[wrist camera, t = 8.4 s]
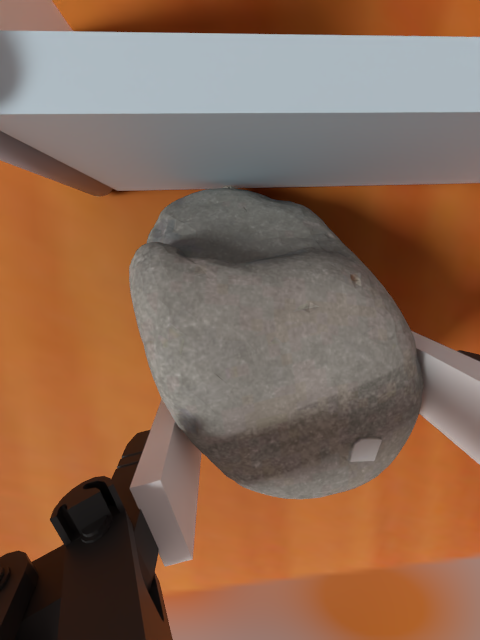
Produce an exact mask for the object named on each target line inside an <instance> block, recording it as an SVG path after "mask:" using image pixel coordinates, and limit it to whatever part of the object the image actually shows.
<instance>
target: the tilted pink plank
mask: <svg viewBox="0 0 480 640" xmlns="http://www.w3.org/2000/svg"><path fill="white" fill-rule="evenodd" d="M0 30H6V31H72V29H71V28H70V26H69V25H68V23H67V22H66V20H65V19H64V18H63V16H62V15H61V13H60V12H59V10H58V9H57V7H56V6H55V4H54V3H53V2H52V0H0Z"/></svg>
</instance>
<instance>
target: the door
mask: <svg viewBox="0 0 480 640" xmlns="http://www.w3.org/2000/svg"><path fill="white" fill-rule="evenodd" d="M0 160H1V161H4V162H6V163H9V164H12V165H14V166H17V167H20V168H22V169H25V170H28V171H30V172H33V173H36V174H38V175H41V176H44V177H46V178H49V179H52V180H54V181H57V182H59V183H62V184H65V185H67V186H70V187H73V188H75V189H78V190H81V191H83V192H86V193H89V194H91V195H94V196H104V195H107V194H108V193H110V192H111V191H112V189H115V190H117V191H134V190H180V189H214V188H222V187H224V186H232V187H235V188H272V187H317V186H363V185H409V184H455V183H480V37H438V36H366V35H294V34H222V33H150V32H78V31H6V30H0Z"/></svg>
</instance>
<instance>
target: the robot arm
mask: <svg viewBox="0 0 480 640" xmlns="http://www.w3.org/2000/svg"><path fill="white" fill-rule="evenodd" d="M411 332H412V334H413V336H414V339H415V344H416V350H417V356H418V360H419V363H420V367H421V373H422V378H423V383H424V387H423V391H422V403H421V408H420V412H419V414H421V415H422V416H423V417H424V418H425V419H427V420H428V421H429V422H430V423H431V424H432V425H434V426H435V427H436V428H437V429H438V430H440V431H441V432H442V433H443V434H444V435H445V436H447V437H448V438H449V439H450V440H451V441H453V442H454V443H455V444H456V445H457V446H458V447H460V448H461V449H462V450H463V451H464V452H466V453H467V454H468V455H469V456H470V457H471V458H473V459H474V460H475V461H476V462H477V463H479V464H480V355H479V354H474V353H470V352H465V351H461V350H459V351H455V350H453V349H451V348H448V347H446V346H444V345H442V344H440V343H437V342H435V341H433V340H431V339H429V338H426V337H424V336H422V335H420V334H418V333H415V332H413V331H411ZM200 462H201V451H200V450H199V449H198V448H197V447H196V446H195V445H194V444H193V443H192V442H191V441H190V440H189V439H188V437H187V436H186V435H185V434H184V432H183V431H182V430H181V429H180V428H179V426H178V425H177V424H176V422H175V421H174V419H173V417H172V415H171V414H170V412H169V410H168V408H167V407H166V405H165V403H164V402H163V400H161V403H160V406H159V408H158V411H157V414H156V417H155V419H154V422H153V425H152V428H151V430H148V431H144V432H140V433H137V434H136V435H135V436H134V437H133V439H132V440H131V441H130V442H129V443H128V444H127V446H126V448H125V450H124V453H123V455H122V459H120V461H119V464H118V466H117V469H116V470H115V473H114V475H113V477H112V479H110V478H108V477H105V476H101V477H94V478H92V479H89V480H87V481H85V482H83V483H81V484H80V485H78V486H76V487H75V488H73V489H72V490H71V491H70V492H69V493H68V494H66V495H65V496H64V497H63V498H62V499H61V500H60V502H59V503H58V504H57V506H56V507H55V508H54V510H53V513H52V515H51V518H50V521H51V522H52V524H53V526H54V527H55V529H56V531H57V533H58V534H59V536H60V538H61V540H62V541H63V543H64V545H62V546H61V547H59V548H57V549H55V550H53V551H51V552H49V553H48V554H46V555H44V556H42V557H40V558H38V559H36V560H35V561H33V562H31V561H30V559H29V558H28V556H27V554H26V553H24V552H21V551H15V552H11V553H7V554H6V555H4V556H2V557H0V640H173V639H172V635H171V631H170V626H169V622H168V618H167V613H166V609H165V605H164V600H163V596H162V591H161V587H160V583H159V580H158V578H157V576H156V574H155V567H156V562H157V556H158V552H159V555H160V557H161V559H162V561H163V564H164V566H169V565H173V564H176V563H180V562H184V561H188V560H192V559H193V548H194V536H195V523H196V511H197V499H198V486H199V474H200Z"/></svg>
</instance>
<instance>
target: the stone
mask: <svg viewBox="0 0 480 640" xmlns="http://www.w3.org/2000/svg"><path fill="white" fill-rule="evenodd" d="M129 281H130V291H131V297H132V302H133V307H134V311H135V316H136V320H137V324H138V328H139V332H140V336H141V338H142V341H143V343H144V348H145V353H146V357H147V360H148V364H149V367H150V370H151V373H152V375H153V378H154V381H155V383H156V386H157V388H158V391H159V393H160V395H161V398H162V400H163V402H164V403H165V405H166V407H167V408H168V410H169V412H170V414H171V415H172V417H173V419H174V421H175V422H176V424H177V425H178V426H179V428H180V429H181V430H182V431H183V432H184V434H185V435H186V436H187V437H188V439H189V440H190V441H191V442H192V443H193V444H194V445H195V446H196V447H197V448H198V449H199V450H200V451H201V452H202V453H203V454H204V455H206V456H207V457H208V458H209V459H210V460H211V462H213V463H214V464H215V465H216V466H217V467H218V468H219V469H220V470H221V471H222V472H223V473H224V474H225V475H226V476H227V477H229V478H230V479H232V480H234V481H235V482H237V483H238V484H239V485H241V486H242V487H244V488H247V489H250V490H252V491H255V492H259V493H262V494H265V495H270V496H274V497H279V498H286V499H309V498H319V497H324V496H328V495H332V494H336V493H340V492H344V491H347V490H350V489H354V488H356V487H358V486H360V485H363V484H365V483H367V482H368V481H370V480H372V479H373V478H375V477H377V476H378V475H379V474H380V473H381V472H382V471H383V470H384V469H385V468H387V467H388V466H389V465H390V464H391V462H392V461H393V460H394V459H395V458H396V456H397V455H398V453H399V452H400V450H401V449H402V447H403V446H404V444H405V443H406V441H407V439H408V437H409V436H410V434H411V432H412V430H413V427H414V425H415V423H416V420H417V417H418V415H419V412H420V408H421V403H422V391H423V387H424V383H423V378H422V373H421V367H420V363H419V360H418V356H417V350H416V344H415V339H414V336H413V334H412V332H411V330H410V328H409V326H408V324H407V322H406V320H405V318H404V316H403V314H402V313H401V311H400V309H399V308H398V306H397V305H396V303H395V302H394V300H393V299H392V297H391V296H390V294H389V293H388V292H387V290H386V289H385V288H384V286H383V285H382V284H381V283H380V282H379V280H378V279H377V278H376V277H375V276H374V275H373V273H372V272H371V271H370V270H369V269H368V268H367V267H366V266H365V265H364V264H363V263H362V262H361V261H360V259H359V258H358V257H357V256H356V255H355V254H354V253H353V252H352V251H351V250H350V249H349V248H347V247H346V246H345V245H344V244H343V243H342V242H341V240H340V239H339V238H338V237H337V236H336V235H335V234H334V233H333V232H332V231H331V230H330V229H329V228H328V227H327V225H326V224H325V223H324V222H323V221H322V219H320V218H319V217H318V216H317V215H316V214H315V213H313V212H312V211H311V210H310V209H308V208H307V207H305V206H303V205H300V204H297V203H294V202H291V201H280V200H274V199H271V198H269V197H267V196H264V195H261V194H258V193H255V192H251V191H248V190H241V189H235V187H232V186H224V187H222V188H214V189H206V190H202V191H199V192H195V193H192V194H190V195H188V196H185V197H183V198H181V199H178V200H176V201H175V202H173V203H171V204H169V205H168V206H167V207H166V208H165V209H164V210H163V211H162V212H161V213H160V216H159V218H158V220H157V222H156V224H155V226H154V227H153V229H152V230H151V232H150V234H149V236H148V240H147V244H145V245H142V246H141V247H140V248H139V249H138V250H137V251H136V253H135V255H134V257H133V259H132V261H131V264H130V268H129Z"/></svg>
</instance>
